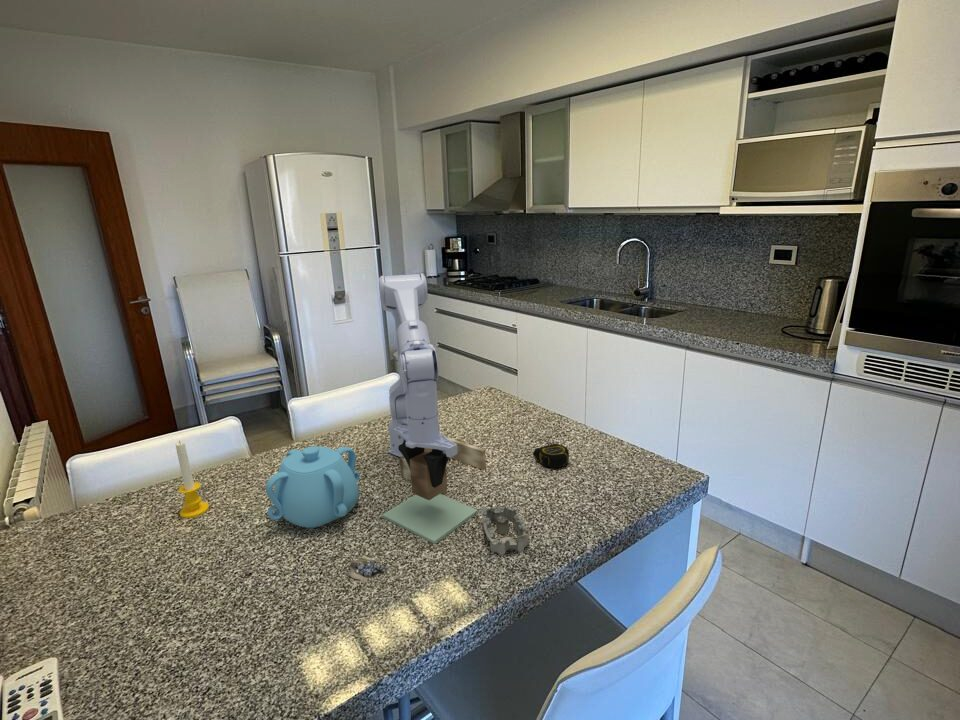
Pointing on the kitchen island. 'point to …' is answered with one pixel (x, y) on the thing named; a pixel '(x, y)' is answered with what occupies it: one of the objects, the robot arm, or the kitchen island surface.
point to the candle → (189, 486)
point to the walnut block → (424, 478)
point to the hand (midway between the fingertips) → (427, 480)
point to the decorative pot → (314, 486)
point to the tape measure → (552, 455)
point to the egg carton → (504, 528)
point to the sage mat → (430, 516)
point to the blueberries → (365, 568)
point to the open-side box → (465, 454)
